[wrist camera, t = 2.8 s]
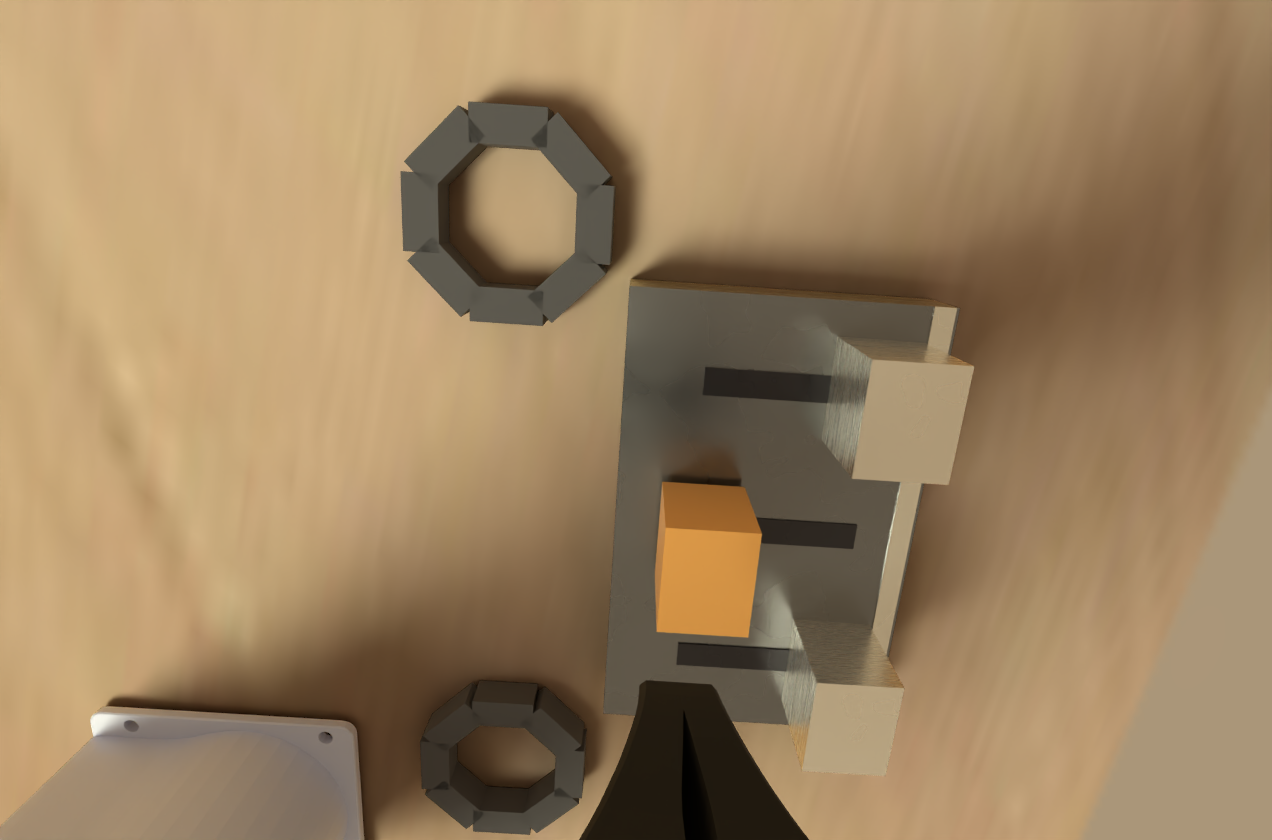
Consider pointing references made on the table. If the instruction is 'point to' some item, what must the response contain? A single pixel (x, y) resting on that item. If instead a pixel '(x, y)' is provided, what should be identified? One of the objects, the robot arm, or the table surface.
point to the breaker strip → (785, 495)
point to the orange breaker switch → (706, 560)
